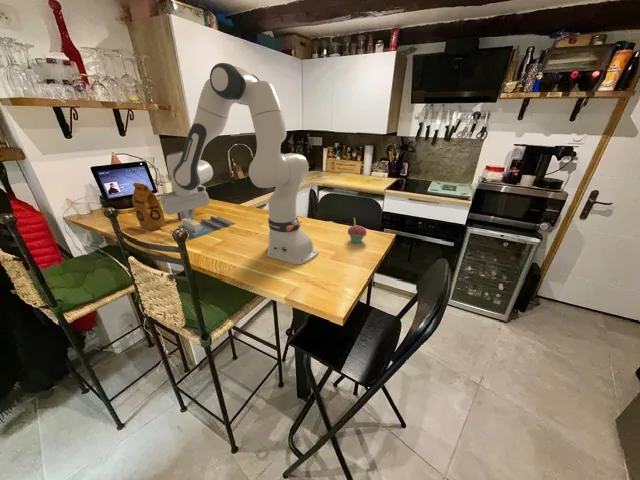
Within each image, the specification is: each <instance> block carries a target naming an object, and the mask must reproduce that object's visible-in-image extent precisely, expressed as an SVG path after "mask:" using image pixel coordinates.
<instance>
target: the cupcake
mask: <svg viewBox="0 0 640 480" xmlns="http://www.w3.org/2000/svg"><path fill="white" fill-rule="evenodd" d="M347 235H349V237H350V240H351V242H352V243H356V244H359V243H361V242H362V241H363V238H364V237H366V236H367V229H366V228H365V227H363V226H362V225H357V224H356V218H355V217H353V225H352V226H351V227H349V228H348V229H347Z"/></svg>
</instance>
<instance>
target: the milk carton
mask: <svg viewBox="0 0 640 480" xmlns="http://www.w3.org/2000/svg"><path fill="white" fill-rule="evenodd" d="M171 192H173V188H172V187H171ZM190 213H191V210H187V214H190ZM177 216H178V217H177V218H178V221H182V219H185V218H186V215H185V214H184V213H183V212H179V213H177ZM191 219H192V220H194V218H191Z"/></svg>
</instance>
